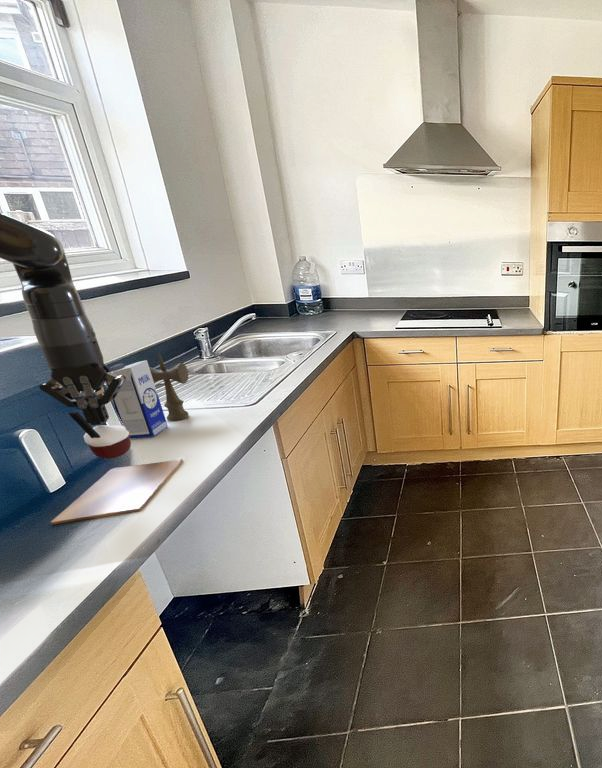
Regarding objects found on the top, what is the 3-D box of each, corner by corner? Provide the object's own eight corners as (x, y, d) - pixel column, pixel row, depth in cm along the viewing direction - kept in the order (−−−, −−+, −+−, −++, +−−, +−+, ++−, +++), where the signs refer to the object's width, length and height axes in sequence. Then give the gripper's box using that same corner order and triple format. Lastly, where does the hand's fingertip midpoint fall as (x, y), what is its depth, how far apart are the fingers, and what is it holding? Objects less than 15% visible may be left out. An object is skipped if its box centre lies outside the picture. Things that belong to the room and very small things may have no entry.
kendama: (193, 420, 122) (174, 354, 115) (154, 424, 120) (132, 357, 113) (200, 412, 128) (183, 349, 121) (163, 416, 125) (143, 352, 118)
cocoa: (126, 443, 90) (108, 392, 86) (148, 447, 89) (130, 395, 85) (73, 465, 82) (50, 409, 78) (96, 469, 80) (74, 413, 76)
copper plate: (51, 524, 78) (50, 522, 78) (112, 470, 96) (111, 468, 96) (140, 511, 82) (139, 508, 82) (183, 461, 100) (182, 459, 100)
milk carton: (153, 437, 112) (130, 366, 105) (124, 439, 110) (99, 368, 104) (168, 426, 118) (147, 359, 111) (141, 428, 117) (118, 360, 110)
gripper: (6, 347, 72) (44, 436, 78) (99, 341, 76) (129, 427, 82) (38, 338, 79) (71, 420, 85) (122, 333, 83) (148, 412, 89)
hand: (99, 423), depth 84 cm, fingers closed
